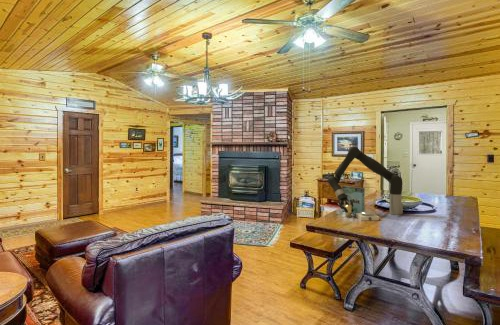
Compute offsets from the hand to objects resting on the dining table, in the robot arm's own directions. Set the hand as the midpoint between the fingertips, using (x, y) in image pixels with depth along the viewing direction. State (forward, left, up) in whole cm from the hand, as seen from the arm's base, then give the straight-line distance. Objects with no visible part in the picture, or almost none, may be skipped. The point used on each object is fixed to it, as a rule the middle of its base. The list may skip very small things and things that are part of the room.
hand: (349, 212), depth 242 cm
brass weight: (+1, -2, -4) cm, 5 cm away
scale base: (-12, +5, -4) cm, 14 cm away
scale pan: (-12, +5, 0) cm, 13 cm away
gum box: (-7, -15, -5) cm, 17 cm away
